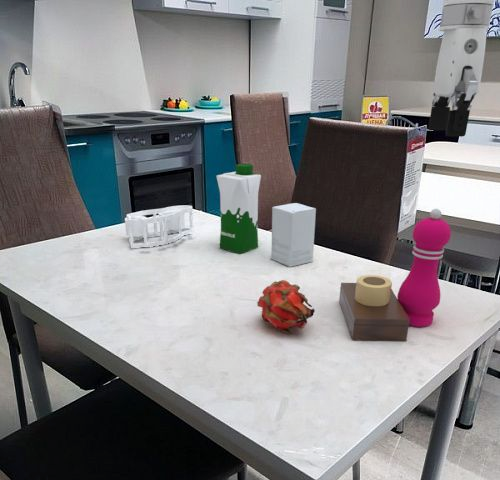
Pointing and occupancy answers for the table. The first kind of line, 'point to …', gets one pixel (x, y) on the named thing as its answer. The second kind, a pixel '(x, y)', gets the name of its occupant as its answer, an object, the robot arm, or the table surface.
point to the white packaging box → (293, 234)
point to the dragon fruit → (284, 306)
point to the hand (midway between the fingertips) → (445, 133)
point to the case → (373, 317)
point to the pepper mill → (424, 270)
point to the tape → (373, 290)
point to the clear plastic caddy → (172, 224)
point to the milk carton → (239, 209)
